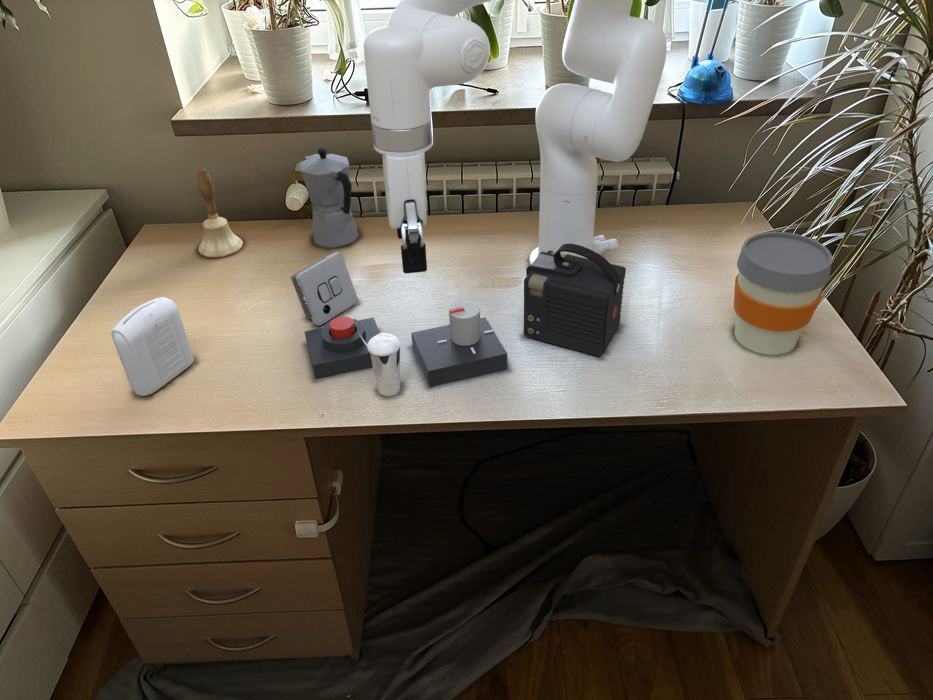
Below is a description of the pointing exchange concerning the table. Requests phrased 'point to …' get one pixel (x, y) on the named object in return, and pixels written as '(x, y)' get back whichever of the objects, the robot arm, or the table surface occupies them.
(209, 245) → the hand bell
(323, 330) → the power housing
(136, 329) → the photo printer
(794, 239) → the reusable coffee cup
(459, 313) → the dial
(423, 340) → the panel
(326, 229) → the coffeepot
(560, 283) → the camera
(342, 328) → the power button
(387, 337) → the milkshake
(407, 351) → the table surface
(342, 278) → the electrical switch
